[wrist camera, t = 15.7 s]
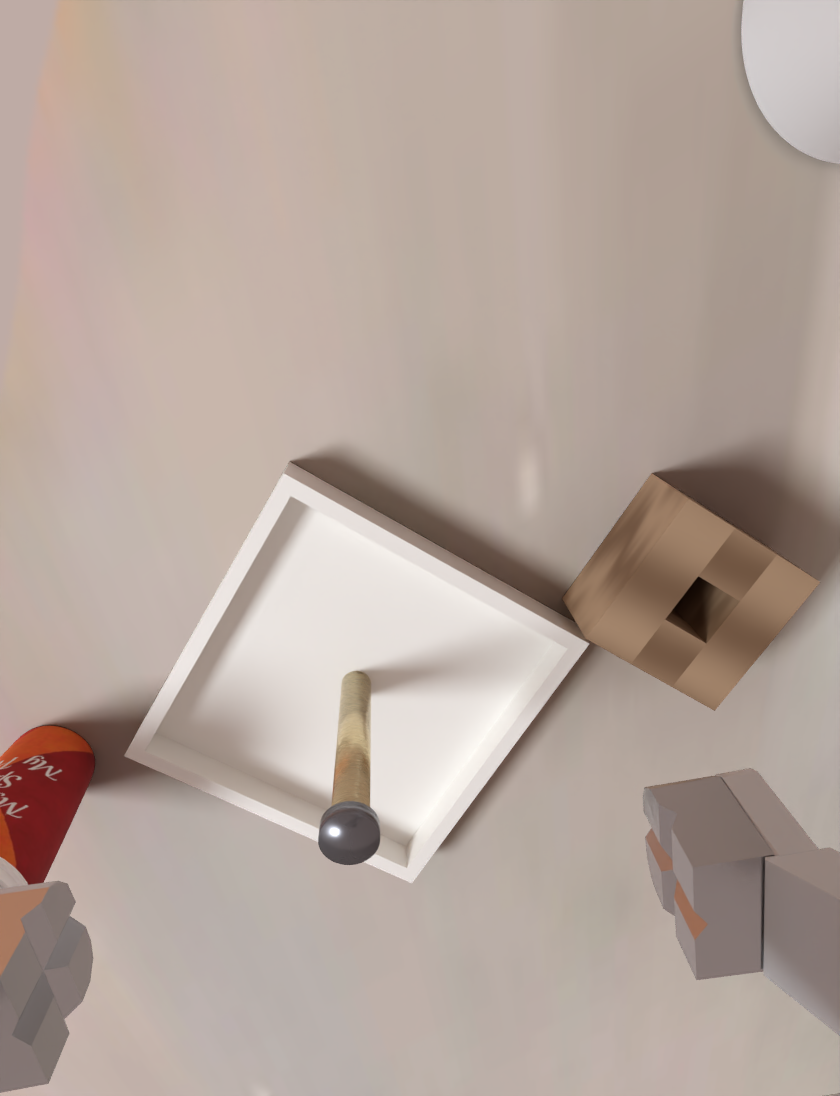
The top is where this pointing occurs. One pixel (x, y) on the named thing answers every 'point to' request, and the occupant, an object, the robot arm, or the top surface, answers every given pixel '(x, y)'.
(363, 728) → the brass pin
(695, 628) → the walnut block
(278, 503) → the off-white tray
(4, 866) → the paper cup
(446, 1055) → the top surface
